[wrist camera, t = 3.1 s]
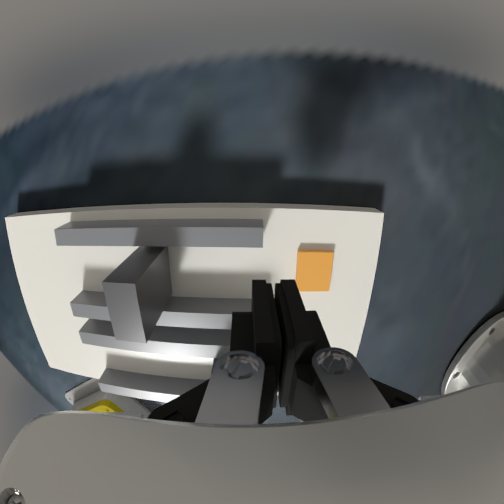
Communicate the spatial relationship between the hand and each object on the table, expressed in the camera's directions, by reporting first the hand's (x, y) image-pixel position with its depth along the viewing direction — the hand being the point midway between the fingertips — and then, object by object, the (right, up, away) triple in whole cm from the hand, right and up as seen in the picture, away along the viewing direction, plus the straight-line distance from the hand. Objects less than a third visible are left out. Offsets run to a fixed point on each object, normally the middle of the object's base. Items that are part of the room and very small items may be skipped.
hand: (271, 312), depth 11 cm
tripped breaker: (-6, +1, +5) cm, 8 cm away
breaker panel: (-6, -1, +8) cm, 10 cm away
